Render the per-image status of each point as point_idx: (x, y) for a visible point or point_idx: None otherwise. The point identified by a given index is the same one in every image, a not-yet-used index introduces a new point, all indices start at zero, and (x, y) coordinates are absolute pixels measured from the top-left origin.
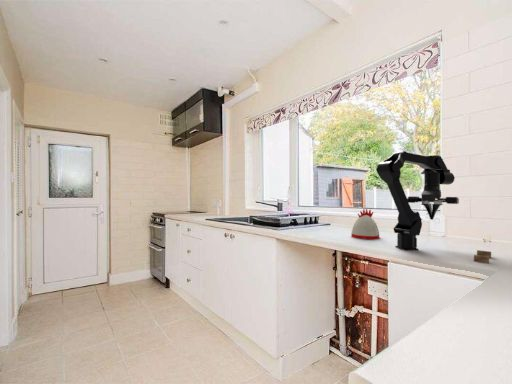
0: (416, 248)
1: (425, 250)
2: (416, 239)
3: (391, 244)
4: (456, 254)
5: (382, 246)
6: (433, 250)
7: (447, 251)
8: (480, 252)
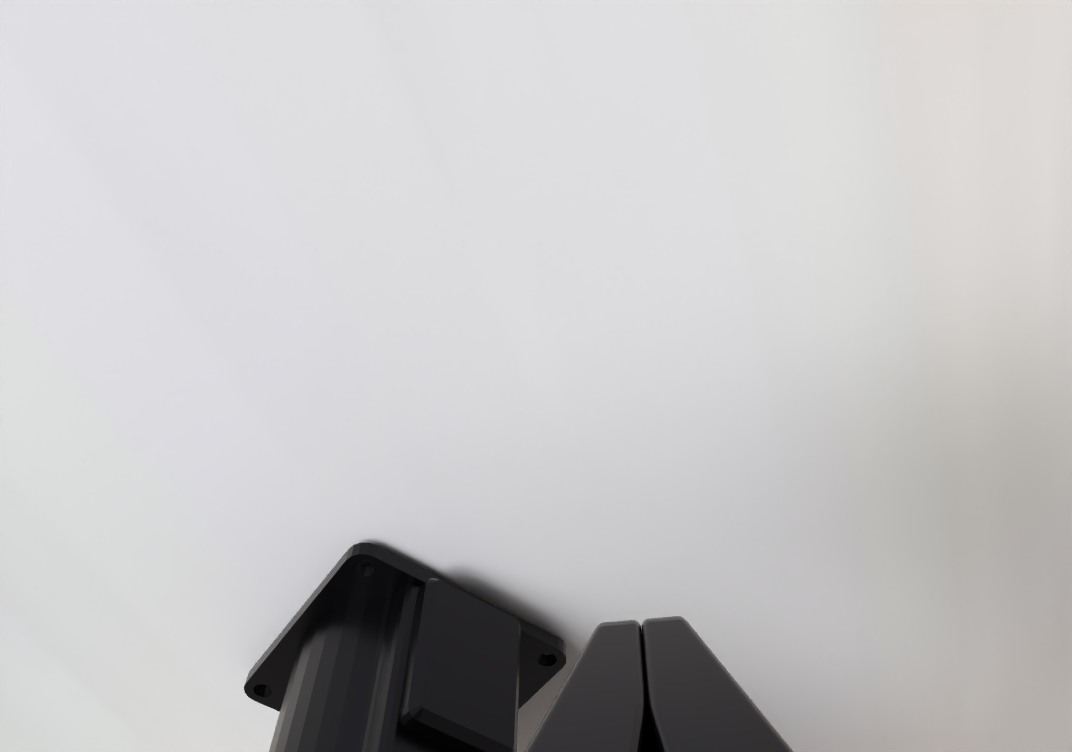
0: (538, 654)
1: (644, 584)
2: (515, 741)
3: (57, 532)
4: (1067, 536)
5: (118, 735)
6: (735, 503)
7: (933, 421)
8: None
